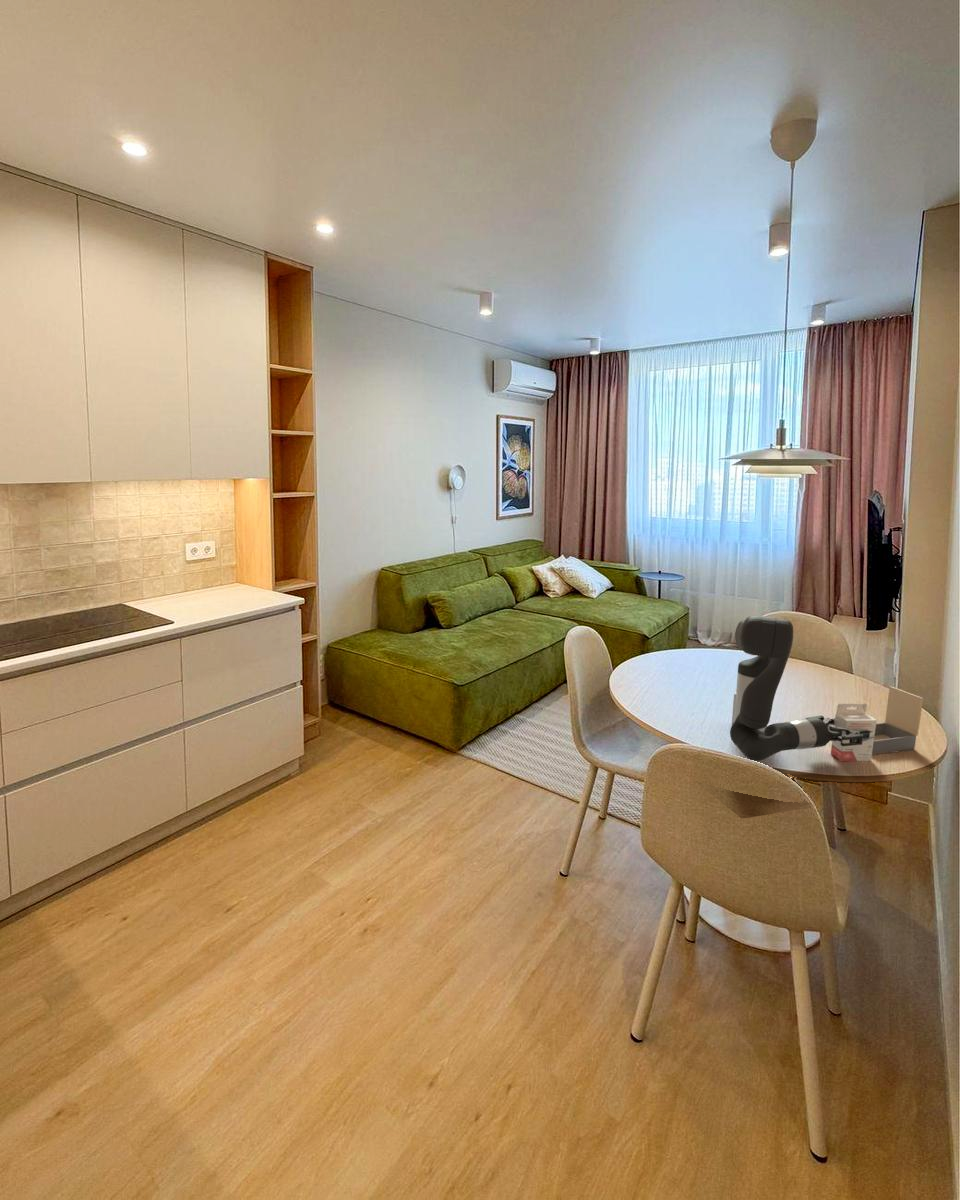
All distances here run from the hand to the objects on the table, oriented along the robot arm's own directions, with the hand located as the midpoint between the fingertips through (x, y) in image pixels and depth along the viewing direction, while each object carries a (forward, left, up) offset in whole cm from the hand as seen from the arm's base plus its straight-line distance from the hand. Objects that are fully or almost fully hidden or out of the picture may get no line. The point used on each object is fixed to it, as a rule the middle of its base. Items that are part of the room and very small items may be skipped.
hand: (855, 727), depth 168 cm
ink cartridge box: (0, 0, -9) cm, 9 cm away
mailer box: (-5, +14, -9) cm, 17 cm away
